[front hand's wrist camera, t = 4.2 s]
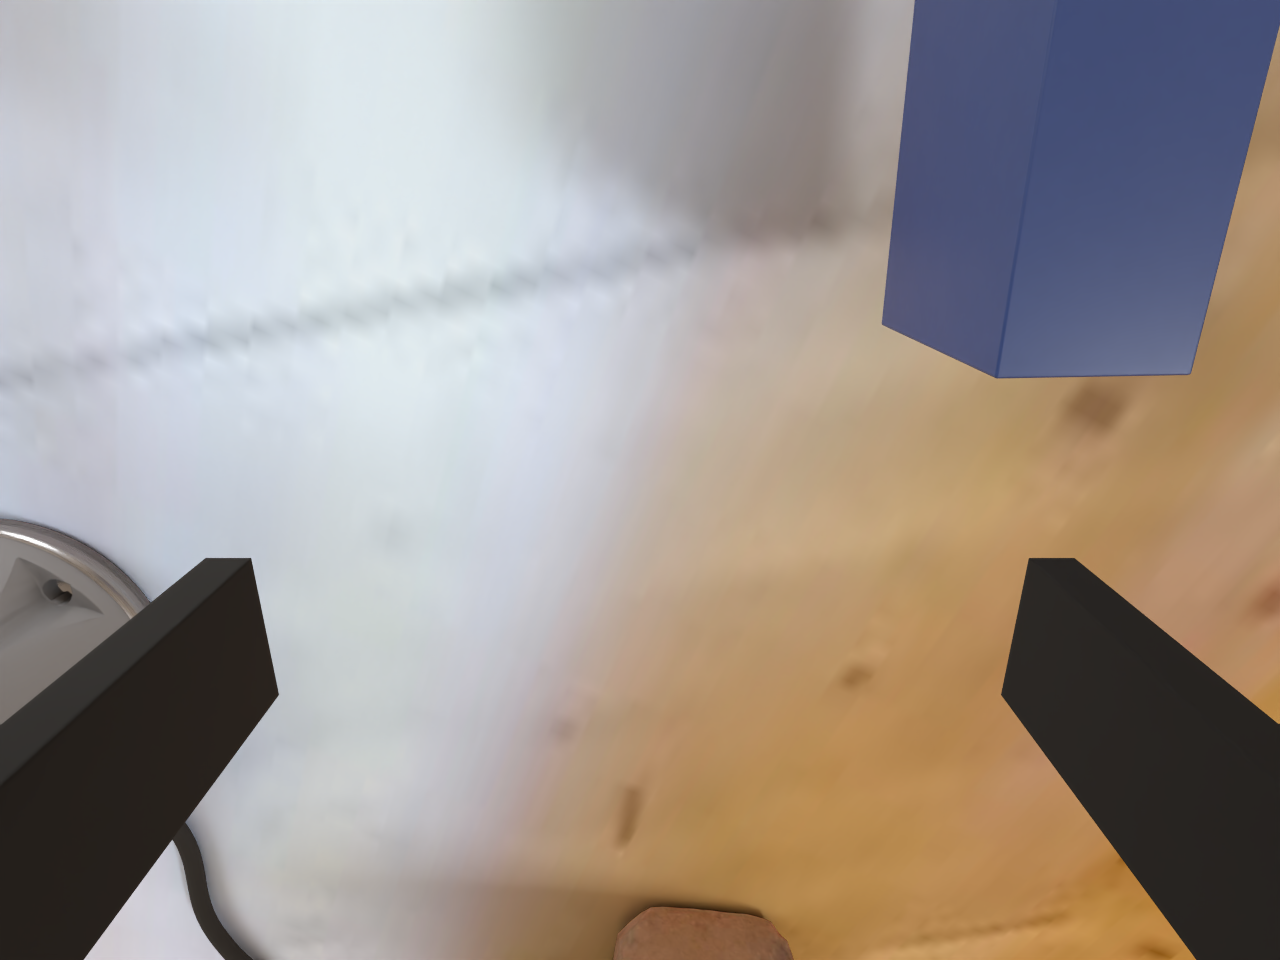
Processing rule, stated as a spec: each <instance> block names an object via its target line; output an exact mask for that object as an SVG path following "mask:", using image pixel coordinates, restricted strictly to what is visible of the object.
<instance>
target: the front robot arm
mask: <svg viewBox="0 0 1280 960" xmlns="http://www.w3.org/2000/svg"><path fill="white" fill-rule="evenodd" d="M278 695H279V693H278V688H277V683H276V678H275V673H274V669H273V664H272V659H271V654H270V649H269V644H268V639H267V634H266V629H265V624H264V619H263V615H262V610H261V605H260V600H259V595H258V590H257V585H256V580H255V575H254V570H253V565H252V561H251V558H205V559H204V560H203V561H202V562H200V563H199V564H198V565H197V566H195V567H194V568H193V569H192V570H191V571H189V572H188V573H187V574H186V575H184V576H183V577H182V578H181V579H179V580H178V581H177V582H176V583H175V584H173V585H172V586H171V587H170V588H168V589H167V590H166V591H165V592H163V593H162V594H161V595H160V596H159V597H157V598H156V599H155V600H154V601H152V602H151V603H150V602H149V600H148V599H147V598H146V596H145V595H144V594H143V593H142V591H141V590H140V589H139V588H138V587H137V586H136V584H135V583H134V582H133V581H132V580H131V579H130V578H129V577H128V576H127V575H126V574H124V573H123V572H122V571H121V570H120V569H119V568H118V567H116V566H115V565H114V564H113V563H111V562H110V561H109V560H107V559H106V558H105V557H103V556H102V555H100V554H99V553H97V552H96V551H94V550H93V549H91V548H89V547H88V546H86V545H84V544H82V543H80V542H78V541H76V540H75V539H72V538H70V537H68V536H66V535H63V534H61V533H59V532H56V531H53V530H50V529H48V528H45V527H41V526H38V525H34V524H30V523H26V522H21V521H16V520H9V519H0V960H84V958H85V957H86V956H87V954H88V953H89V952H90V950H91V949H92V948H93V946H94V945H95V944H96V942H97V941H98V939H99V938H100V937H101V935H102V934H103V933H104V931H105V930H106V929H107V927H108V926H109V925H110V923H111V922H112V920H113V919H114V918H115V916H116V915H117V914H118V912H119V911H120V910H121V908H122V907H123V906H124V904H125V903H126V901H127V900H128V899H129V897H130V896H131V895H132V893H133V892H134V891H135V889H136V888H137V887H138V885H139V884H140V882H141V881H142V880H143V878H144V877H145V876H146V874H147V873H148V872H149V870H150V869H151V868H152V866H153V865H154V863H155V862H156V861H157V859H158V858H159V857H160V855H161V854H162V853H163V851H164V850H165V849H166V847H167V846H168V844H169V843H170V842H171V840H173V841H174V843H175V845H176V846H177V848H178V851H179V853H180V856H181V859H182V862H183V865H184V870H185V874H186V880H187V885H188V891H189V895H190V900H191V904H192V907H193V910H194V913H195V916H196V918H197V920H198V922H199V924H200V926H201V928H202V930H203V932H204V933H205V935H206V936H207V938H208V939H209V941H210V942H211V943H212V945H213V946H214V947H215V948H216V950H217V951H218V952H219V953H220V954H221V956H222V957H223V958H224V959H225V960H253V959H252V958H250V957H249V956H248V955H247V954H246V953H245V952H244V951H243V950H242V949H241V948H240V947H239V946H238V944H237V943H236V942H235V941H234V940H233V939H232V938H231V936H230V935H229V934H228V933H227V931H226V930H225V929H224V927H223V926H222V924H221V923H220V921H219V920H218V918H217V916H216V914H215V911H214V909H213V906H212V904H211V900H210V897H209V893H208V888H207V883H206V877H205V871H204V866H203V861H202V857H201V854H200V850H199V847H198V845H197V842H196V840H195V838H194V836H193V834H192V832H191V831H190V829H189V828H188V826H187V825H186V823H185V821H186V820H187V819H188V817H189V816H190V815H191V813H192V812H193V811H194V809H195V808H196V807H197V805H198V804H199V802H200V801H201V800H202V798H203V797H204V796H205V794H206V793H207V792H208V790H209V789H210V788H211V786H212V785H213V783H214V782H215V781H216V779H217V778H218V777H219V775H220V774H221V773H222V771H223V770H224V769H225V767H226V766H227V764H228V763H229V762H230V760H231V759H232V758H233V756H234V755H235V754H236V752H237V751H238V750H239V748H240V747H241V745H242V744H243V743H244V741H245V740H246V739H247V737H248V736H249V735H250V733H251V732H252V731H253V729H254V728H255V726H256V725H257V724H258V722H259V721H260V720H261V718H262V717H263V716H264V714H265V713H266V712H267V710H268V709H269V708H270V706H271V705H272V703H273V702H274V701H275V699H276V698H277V697H278ZM1001 695H1002V697H1003V698H1004V699H1005V701H1006V702H1007V703H1008V705H1009V706H1010V707H1011V709H1012V710H1013V712H1014V713H1015V714H1016V716H1017V717H1018V718H1019V720H1020V721H1021V722H1022V724H1023V725H1024V726H1025V728H1026V729H1027V731H1028V732H1029V733H1030V735H1031V736H1032V737H1033V739H1034V740H1035V741H1036V743H1037V744H1038V745H1039V747H1040V748H1041V750H1042V751H1043V752H1044V754H1045V755H1046V756H1047V758H1048V759H1049V760H1050V762H1051V763H1052V764H1053V766H1054V767H1055V769H1056V770H1057V771H1058V773H1059V774H1060V775H1061V777H1062V778H1063V779H1064V781H1065V782H1066V783H1067V785H1068V786H1069V788H1070V789H1071V790H1072V792H1073V793H1074V794H1075V796H1076V797H1077V798H1078V800H1079V801H1080V802H1081V804H1082V805H1083V807H1084V808H1085V809H1086V811H1087V812H1088V813H1089V815H1090V816H1091V817H1092V819H1093V820H1094V821H1095V823H1096V824H1097V826H1098V827H1099V828H1100V830H1101V831H1102V832H1103V834H1104V835H1105V836H1106V838H1107V839H1108V840H1109V842H1110V843H1111V844H1112V846H1113V847H1114V849H1115V850H1116V851H1117V853H1118V854H1119V855H1120V857H1121V858H1122V859H1123V861H1124V862H1125V863H1126V865H1127V866H1128V868H1129V869H1130V870H1131V872H1132V873H1133V874H1134V876H1135V877H1136V878H1137V880H1138V881H1139V882H1140V884H1141V885H1142V887H1143V888H1144V889H1145V891H1146V892H1147V893H1148V895H1149V896H1150V897H1151V899H1152V900H1153V901H1154V903H1155V904H1156V906H1157V907H1158V908H1159V910H1160V911H1161V912H1162V914H1163V915H1164V916H1165V918H1166V919H1167V920H1168V922H1169V923H1170V925H1171V926H1172V927H1173V929H1174V930H1175V931H1176V933H1177V934H1178V935H1179V937H1180V938H1181V939H1182V941H1183V942H1184V944H1185V945H1186V946H1187V948H1188V949H1189V950H1190V952H1191V953H1192V954H1193V956H1194V957H1195V958H1196V960H1280V724H1278V723H1276V722H1275V721H1274V720H1273V719H1271V718H1270V717H1269V716H1268V715H1267V714H1265V713H1264V712H1263V711H1262V710H1260V709H1259V708H1258V707H1257V706H1256V705H1254V704H1253V703H1252V702H1251V701H1249V700H1248V699H1247V698H1246V697H1244V696H1243V695H1242V694H1241V693H1240V692H1238V691H1237V690H1236V689H1235V688H1233V687H1232V686H1231V685H1230V684H1228V683H1227V682H1226V681H1225V680H1224V679H1222V678H1221V677H1220V676H1219V675H1217V674H1216V673H1215V672H1214V671H1212V670H1211V669H1210V668H1209V667H1208V666H1206V665H1205V664H1204V663H1203V662H1201V661H1200V660H1199V659H1198V658H1196V657H1195V656H1194V655H1193V654H1192V653H1190V652H1189V651H1188V650H1187V649H1185V648H1184V647H1183V646H1182V645H1180V644H1179V643H1178V642H1177V641H1176V640H1174V639H1173V638H1172V637H1171V636H1169V635H1168V634H1167V633H1166V632H1165V631H1163V630H1162V629H1161V628H1160V627H1158V626H1157V625H1156V624H1155V623H1153V622H1152V621H1151V620H1150V619H1149V618H1147V617H1146V616H1145V615H1144V614H1142V613H1141V612H1140V611H1139V610H1137V609H1136V608H1135V607H1134V606H1133V605H1131V604H1130V603H1129V602H1128V601H1126V600H1125V599H1124V598H1123V597H1121V596H1120V595H1119V594H1118V593H1117V592H1115V591H1114V590H1113V589H1112V588H1110V587H1109V586H1108V585H1107V584H1105V583H1104V582H1103V581H1102V580H1101V579H1099V578H1098V577H1097V576H1096V575H1094V574H1093V573H1092V572H1091V571H1089V570H1088V569H1087V568H1086V567H1085V566H1083V565H1082V564H1081V563H1080V562H1078V561H1077V560H1076V559H1075V558H1029V561H1028V565H1027V570H1026V575H1025V580H1024V585H1023V590H1022V595H1021V600H1020V605H1019V610H1018V615H1017V619H1016V624H1015V629H1014V634H1013V639H1012V644H1011V649H1010V654H1009V659H1008V664H1007V669H1006V673H1005V678H1004V683H1003V688H1002V693H1001Z"/></svg>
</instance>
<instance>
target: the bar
mask: <svg viewBox="0 0 1280 960" xmlns="http://www.w3.org/2000/svg"><path fill="white" fill-rule="evenodd" d="M1279 26H1280V0H915V6H914V16H913V25H912V35H911V45H910V55H909V64H908V74H907V84H906V94H905V103H904V113H903V123H902V133H901V142H900V152H899V162H898V171H897V181H896V191H895V201H894V210H893V220H892V230H891V240H890V249H889V259H888V269H887V279H886V288H885V298H884V308H883V318H882V325H884V326H886V327H888V328H890V329H892V330H895V331H897V332H899V333H901V334H903V335H905V336H907V337H909V338H912V339H914V340H916V341H918V342H920V343H922V344H924V345H926V346H929V347H931V348H933V349H935V350H937V351H939V352H941V353H944V354H946V355H948V356H950V357H952V358H954V359H956V360H958V361H961V362H963V363H965V364H967V365H969V366H971V367H973V368H975V369H978V370H980V371H982V372H984V373H986V374H988V375H990V376H993V377H995V378H1045V377H1100V376H1155V375H1189V374H1190V373H1191V371H1192V367H1193V363H1194V359H1195V355H1196V351H1197V347H1198V343H1199V339H1200V335H1201V331H1202V327H1203V324H1204V320H1205V316H1206V312H1207V308H1208V304H1209V300H1210V296H1211V292H1212V288H1213V284H1214V280H1215V276H1216V273H1217V269H1218V265H1219V261H1220V257H1221V253H1222V249H1223V245H1224V241H1225V237H1226V233H1227V229H1228V226H1229V222H1230V218H1231V214H1232V210H1233V206H1234V202H1235V198H1236V194H1237V190H1238V186H1239V182H1240V178H1241V175H1242V171H1243V167H1244V163H1245V159H1246V155H1247V151H1248V147H1249V143H1250V139H1251V135H1252V131H1253V127H1254V124H1255V120H1256V116H1257V112H1258V108H1259V104H1260V100H1261V96H1262V92H1263V88H1264V84H1265V80H1266V77H1267V73H1268V69H1269V65H1270V61H1271V57H1272V53H1273V49H1274V45H1275V41H1276V37H1277V33H1278V29H1279Z"/></svg>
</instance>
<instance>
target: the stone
mask: <svg viewBox="0 0 1280 960" xmlns="http://www.w3.org/2000/svg"><path fill="white" fill-rule="evenodd" d="M613 960H794V959H793V956H792V953H791V950H790V948H789V945H788V942H787V940H786V939H784V938H783V937H782V936H781V935H780V934H779V933H778V931H777V930H776V928H775V927H774V925H773V924H772V923H771V922H770V921H768V920H766V919H763V918H760V917H756V916H752V915H748V914H737V913H727V912H719V911H711V910H700V909H690V908H674V907H650V908H649V909H647V910H645V911H643V912H641V913H640V914H639V915H638V916H636V917H635V918H634V919H633V920H631V921H630V922H629V923H628V924H627V925H626V926H625V927H624V928H623V929H622V930H621V931H620V932H619V933H618V935H617V940H616V945H615V950H614V959H613Z"/></svg>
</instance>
